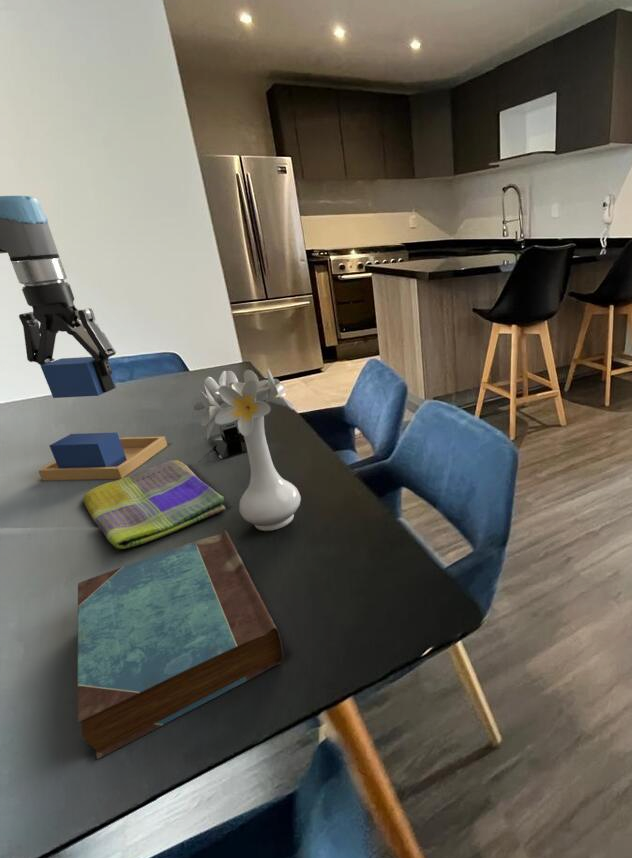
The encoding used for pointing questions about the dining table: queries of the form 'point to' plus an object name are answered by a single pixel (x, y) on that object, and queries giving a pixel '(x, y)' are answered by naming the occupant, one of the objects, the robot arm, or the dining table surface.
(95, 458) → the pad
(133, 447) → the wooden tray
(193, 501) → the dish towel
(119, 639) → the book
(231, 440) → the black box
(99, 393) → the pad
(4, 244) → the robot arm
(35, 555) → the dining table surface
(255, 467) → the flower vase
